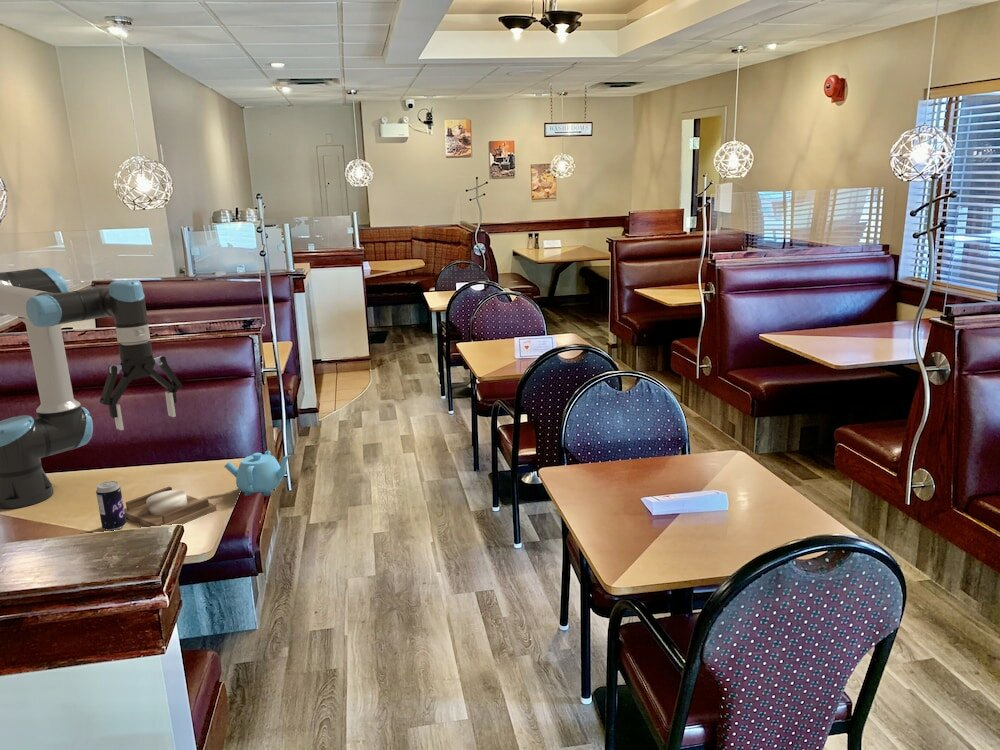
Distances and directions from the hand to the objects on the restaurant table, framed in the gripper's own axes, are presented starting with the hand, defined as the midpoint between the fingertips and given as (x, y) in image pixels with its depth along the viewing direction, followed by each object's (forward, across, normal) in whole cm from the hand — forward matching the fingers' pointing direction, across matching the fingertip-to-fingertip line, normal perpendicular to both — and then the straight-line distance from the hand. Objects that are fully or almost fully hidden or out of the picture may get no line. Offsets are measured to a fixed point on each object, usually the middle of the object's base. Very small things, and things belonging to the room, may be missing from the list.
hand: (146, 422), depth 200 cm
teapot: (+27, +28, -4) cm, 39 cm away
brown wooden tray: (+27, +3, +2) cm, 27 cm away
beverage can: (+27, -10, +5) cm, 29 cm away
